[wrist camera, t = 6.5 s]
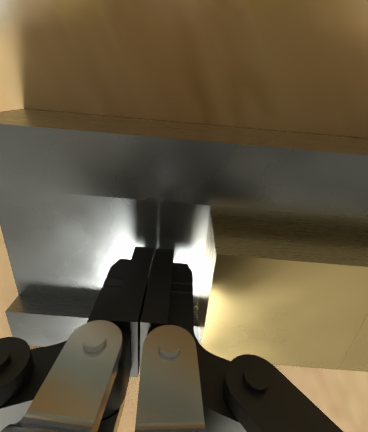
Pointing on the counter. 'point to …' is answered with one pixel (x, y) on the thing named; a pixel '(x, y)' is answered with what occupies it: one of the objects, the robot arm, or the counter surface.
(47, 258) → the slot plate
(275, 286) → the yellow block
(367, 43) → the counter surface
